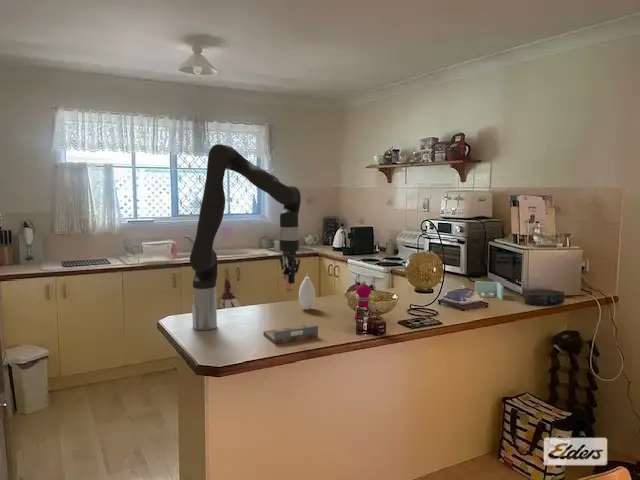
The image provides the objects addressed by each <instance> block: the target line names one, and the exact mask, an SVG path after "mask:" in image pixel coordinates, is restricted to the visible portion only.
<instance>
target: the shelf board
mask: <svg viewBox="0 0 640 480" xmlns="http://www.w3.org/2000/svg"><path fill="white" fill-rule="evenodd" d="M305 327H308V326H306V325H305V324H304V325H299V326H291V327H284V328H277V329H276V328H275V329H271V330H270V329H268V330H263V333H262V334H263V336H264V337H265V338H266V339H268V340H269V341H271V343H272V344H273V345H279V344H283V343H290V342H297V341H303V340H309V339H315V338H318V337H319V333H318V334H312V335H305V336H299V337H292V338H286V339H279V340H274V332H277V331H284V330H291V329H298V328H305Z"/></svg>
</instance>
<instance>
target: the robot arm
mask: <svg viewBox="0 0 640 480" xmlns="http://www.w3.org/2000/svg"><path fill="white" fill-rule="evenodd" d="M206 166H207V167H206V176H205V183H204V188H203V189H204V190H203V194H202V199H201V204H200V208H199V216H198V222H197V228H196V234H195V235H196V236H195V240H194V242H193V246H192V249H191V253H190V255H189V265H190V267H191V268H192V270H193V271H194V272H195V274H194V277H193V279H192V296H193V298H192V300H193V304H191V311H192V313H191V314H192V316H191V317H192V328H193V329H194V330H195V331H211V330H215V329H216V328H217V326H218V322H217V321H218V320H217V319H218V316H217V315H218V314H217V280H218V257H217V252H216V251H215V249H213V247H214V241H215V238H216V235H217V233H218V230H219V228H220V226H221V223H222V221H223V217H224V214H225V208H226V195H225V190H224V179H225V178H224V177H225V174H226V170H230V171H233V172H234V173H235V172H236V173H238V174H240V175H241V176H242V177H244V178H245V179H246V180H248V182H250V183H251V184H252V185H254V187H256V188H258V189H259V190H261V191H263V192H264V193H266V194H268V195H269V196H270V197H272V199H274V200H275V202H278V203H279V204H281V205H283V210H282V211H281V212H280V214H279V233H278V235H279V241H278V242H279V251H280V252H282V255H281V254H280V255H279V256H278V257H279V263H280V267H281V271H284V270H285V268H288V271H289V283H290V284H293V283H294V284H295V276H296V275H294V274H295V273H296V274H297V273H298V271H299V268H300V264H301V260H300V258H297V252H298V251H300V229H299V212H300V208H301V203H302V201H301V199H302V198H301V197H302V196H301V191H300V190H299V188H297V187H296V186H293V185H288V186H287V185H285V184H284V183H282V182H281V181H280V179H279V178H277V177H276V175H273V174H271V173H270V172H268V171H266V170H264V169H262V168H260V167H259V166H258V165H256V164H254V163H252V162H250V161H249V160H248V159H246V157H244V156H243V155H242V154H241V153H239V152H238V151H237V150H236V149H235V148H233V147H232V146H229V145H227V144H221V143H217V144H216V143H215V144H214V145H212V147H211V148H210V149H209V152H208V155H207V165H206ZM285 261H287V265H286V264H285ZM290 265H292V266H290ZM285 278H286V275H285V276H284V279H285Z"/></svg>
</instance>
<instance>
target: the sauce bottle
mask: <svg viewBox="0 0 640 480" xmlns="http://www.w3.org/2000/svg"><path fill="white" fill-rule="evenodd" d="M308 274H309V273H306V276H305V277H304V279H303V281H302V282H301V284H300V287H299V291H298V302H299V305H300V307H302V308H303V309H304V310H305V311H308V310H310V309H311V308H312V307H313V306H314V305H315V302H316V291H315V286H314V284H313V282H312V280H311V277H309V275H308Z"/></svg>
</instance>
